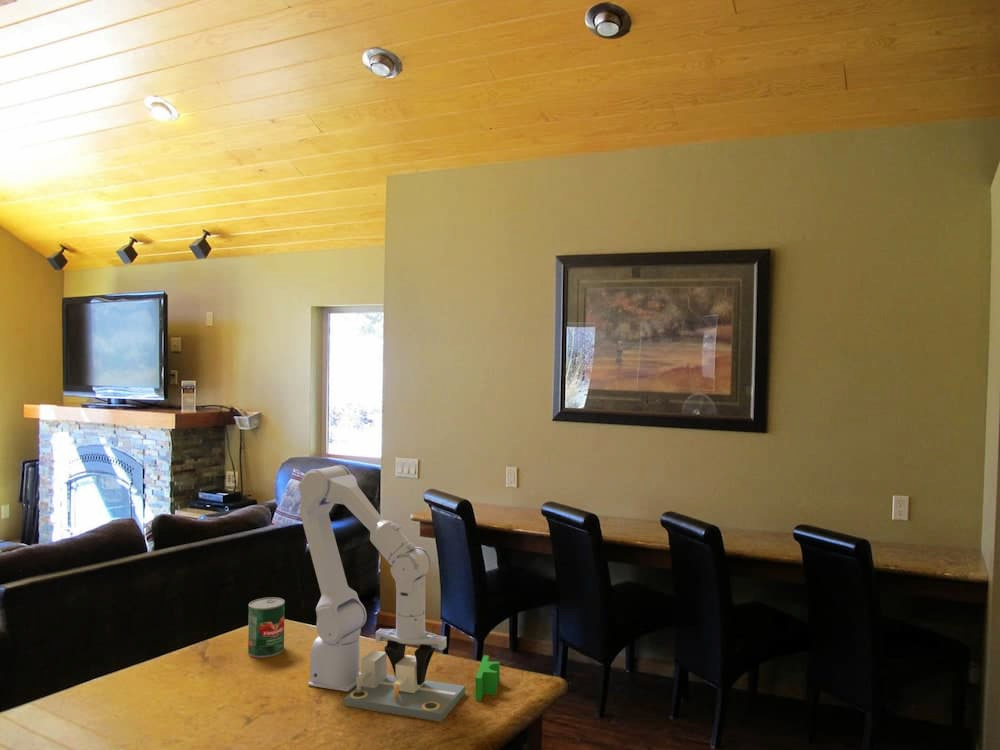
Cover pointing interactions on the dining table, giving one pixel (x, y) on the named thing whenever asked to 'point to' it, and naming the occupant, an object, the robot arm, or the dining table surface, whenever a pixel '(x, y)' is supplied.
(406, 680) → the block
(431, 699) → the plate
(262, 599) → the canned tomato
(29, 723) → the dining table surface
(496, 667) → the pipe clamp
